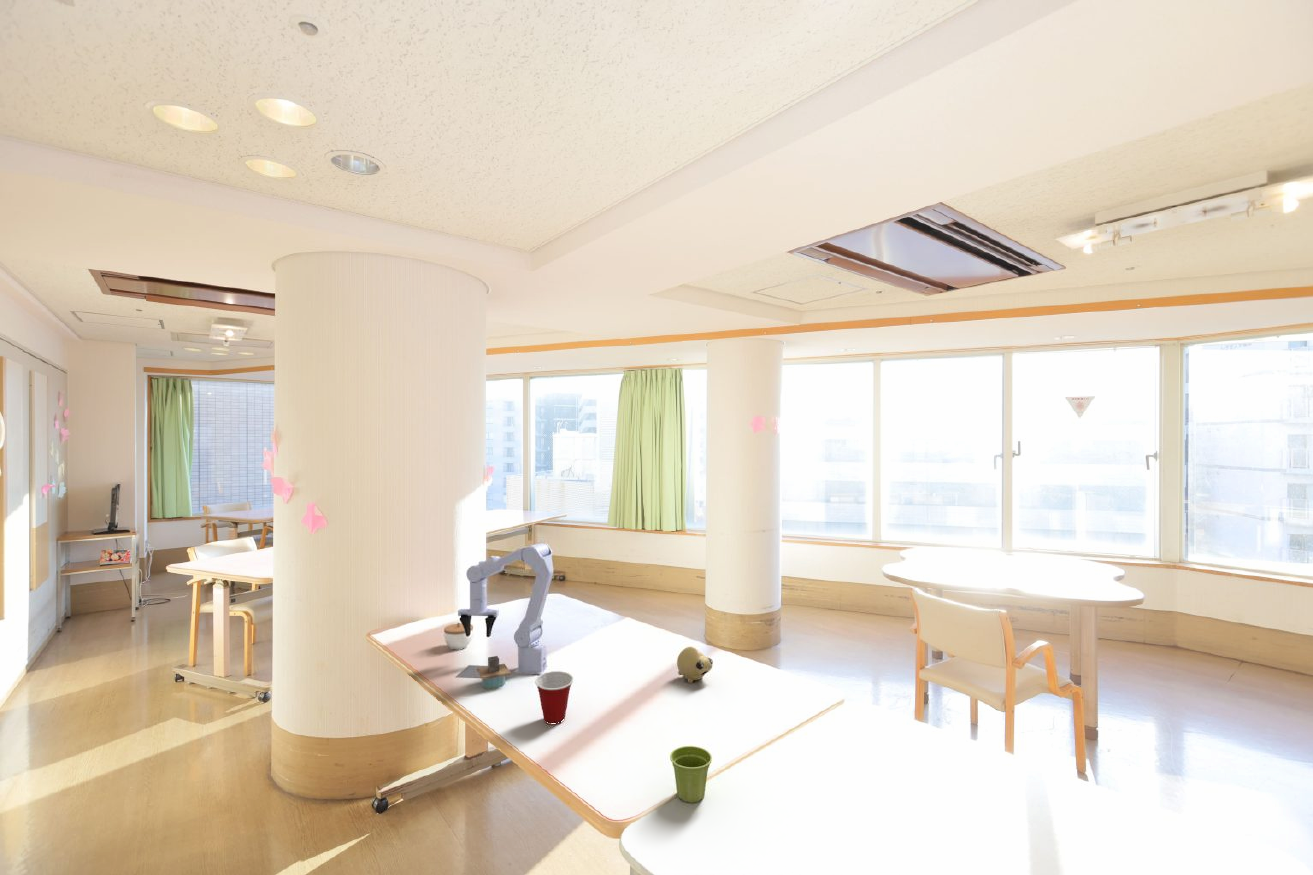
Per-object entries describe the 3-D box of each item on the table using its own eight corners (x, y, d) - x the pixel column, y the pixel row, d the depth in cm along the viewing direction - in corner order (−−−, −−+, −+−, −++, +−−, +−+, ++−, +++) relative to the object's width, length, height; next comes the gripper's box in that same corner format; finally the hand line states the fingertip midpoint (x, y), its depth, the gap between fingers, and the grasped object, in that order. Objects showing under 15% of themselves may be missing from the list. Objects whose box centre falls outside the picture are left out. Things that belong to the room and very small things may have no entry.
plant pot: (709, 782, 140) (709, 745, 140) (714, 807, 130) (714, 767, 130) (669, 783, 139) (668, 746, 139) (671, 808, 130) (671, 768, 130)
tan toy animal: (697, 689, 192) (697, 656, 192) (671, 679, 201) (671, 647, 201) (718, 681, 199) (717, 648, 199) (691, 671, 207) (691, 640, 207)
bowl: (508, 681, 200) (508, 668, 200) (500, 690, 193) (500, 676, 193) (487, 680, 200) (487, 667, 200) (479, 689, 193) (479, 676, 193)
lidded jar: (477, 642, 238) (477, 619, 238) (466, 652, 228) (466, 627, 228) (451, 642, 239) (451, 618, 240) (439, 651, 229) (439, 626, 229)
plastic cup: (536, 731, 165) (536, 687, 165) (533, 714, 175) (533, 673, 175) (576, 726, 168) (576, 683, 168) (571, 709, 178) (571, 669, 178)
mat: (498, 667, 212) (498, 666, 212) (486, 679, 202) (486, 678, 202) (469, 665, 214) (469, 665, 214) (454, 677, 203) (454, 677, 203)
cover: (504, 665, 203) (504, 651, 203) (510, 674, 195) (510, 660, 195) (477, 669, 199) (476, 655, 199) (482, 679, 191) (482, 664, 191)
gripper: (501, 595, 219) (502, 632, 219) (463, 594, 221) (464, 631, 221) (494, 600, 212) (494, 639, 212) (455, 599, 214) (455, 638, 214)
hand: (478, 635), depth 216 cm, fingers open, 7 cm apart
